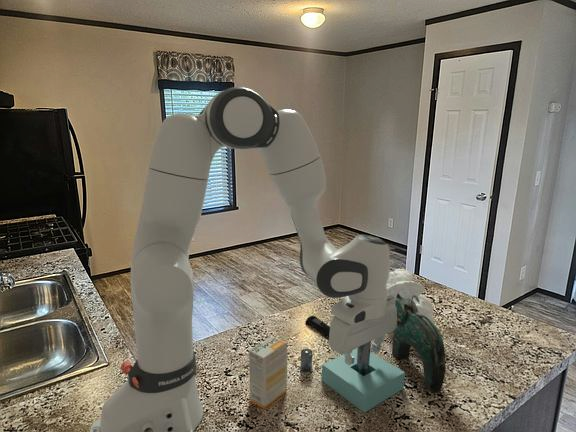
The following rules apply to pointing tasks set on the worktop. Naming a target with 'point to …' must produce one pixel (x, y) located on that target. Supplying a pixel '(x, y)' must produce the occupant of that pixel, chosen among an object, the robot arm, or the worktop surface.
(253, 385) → the supplement box
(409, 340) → the ceramic cat
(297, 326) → the worktop surface
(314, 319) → the electric trimmer
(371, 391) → the hole block
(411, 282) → the white lumpy sculpture
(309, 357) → the short pin
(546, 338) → the worktop surface
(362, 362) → the long pin
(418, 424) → the worktop surface
